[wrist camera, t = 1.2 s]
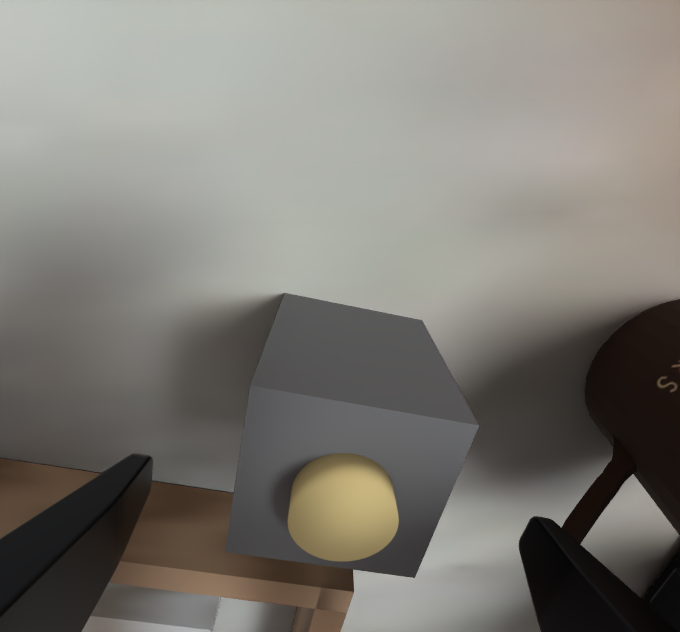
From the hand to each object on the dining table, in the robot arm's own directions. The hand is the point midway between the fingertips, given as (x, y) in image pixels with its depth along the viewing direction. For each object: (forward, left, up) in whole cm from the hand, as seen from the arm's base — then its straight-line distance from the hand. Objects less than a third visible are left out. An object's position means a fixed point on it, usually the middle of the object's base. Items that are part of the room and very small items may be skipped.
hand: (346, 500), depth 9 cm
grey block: (0, 0, -6) cm, 6 cm away
